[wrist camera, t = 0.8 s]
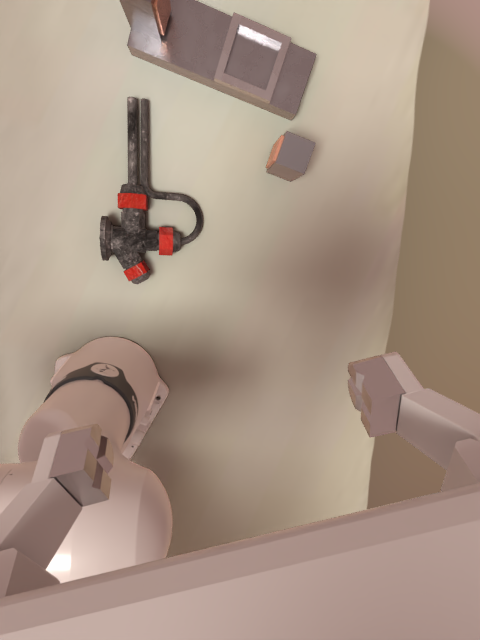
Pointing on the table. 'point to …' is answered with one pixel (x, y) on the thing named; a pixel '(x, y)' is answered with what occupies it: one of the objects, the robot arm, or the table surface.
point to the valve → (140, 210)
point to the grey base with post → (220, 52)
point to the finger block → (290, 156)
